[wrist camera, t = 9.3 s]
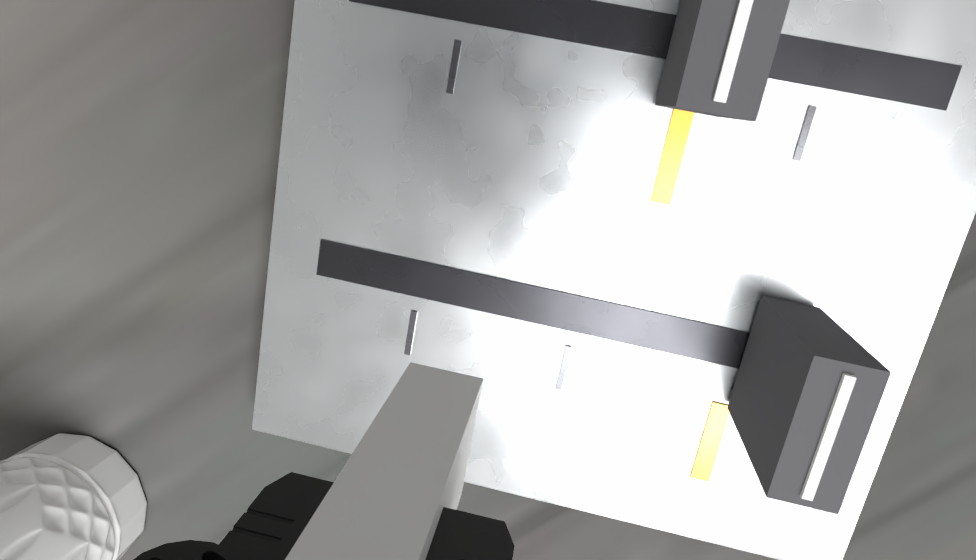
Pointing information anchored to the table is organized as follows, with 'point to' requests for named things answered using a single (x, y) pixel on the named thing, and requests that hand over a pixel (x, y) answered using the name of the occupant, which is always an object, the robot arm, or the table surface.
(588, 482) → the console
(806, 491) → the fader tab
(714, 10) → the fader
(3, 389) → the table surface
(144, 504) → the white cup
